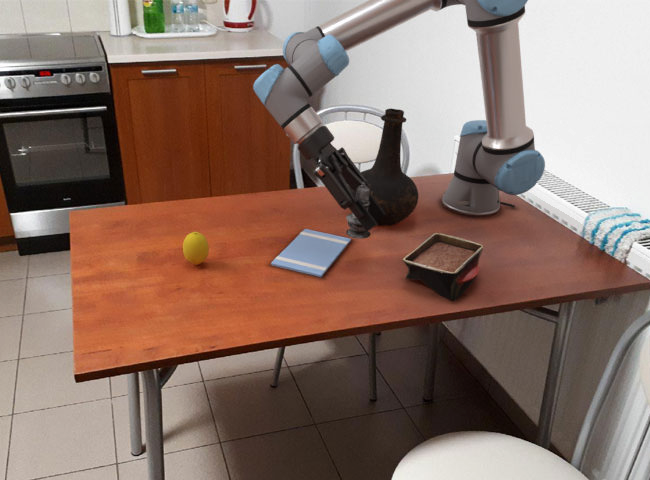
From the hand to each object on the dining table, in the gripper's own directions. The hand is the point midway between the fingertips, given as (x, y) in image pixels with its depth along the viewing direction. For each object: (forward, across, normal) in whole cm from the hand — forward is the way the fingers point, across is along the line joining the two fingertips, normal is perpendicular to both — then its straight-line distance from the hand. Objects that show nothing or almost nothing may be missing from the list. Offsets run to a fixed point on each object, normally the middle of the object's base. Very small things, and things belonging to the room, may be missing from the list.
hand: (376, 222), depth 137 cm
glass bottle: (+4, -26, -12) cm, 29 cm away
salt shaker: (0, 0, -5) cm, 5 cm away
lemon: (-17, +17, -32) cm, 40 cm away
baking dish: (+19, 0, +3) cm, 19 cm away
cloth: (-2, 0, -18) cm, 18 cm away
